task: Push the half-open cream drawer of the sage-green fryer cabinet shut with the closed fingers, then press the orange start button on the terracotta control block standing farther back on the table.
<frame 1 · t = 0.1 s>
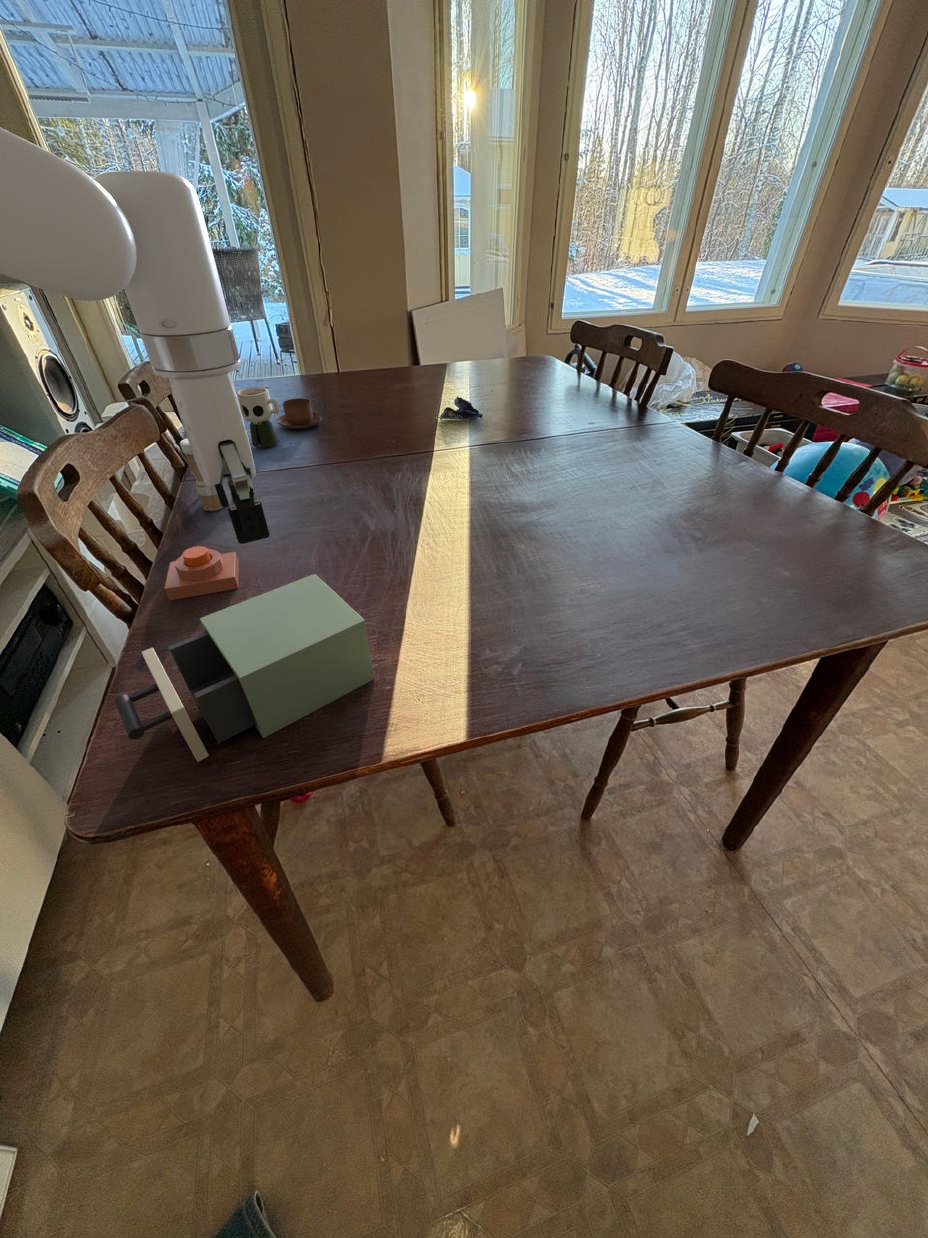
hand: (244, 520, 57), 19 cm above the table, tool pointing down, fingers open, 9 cm apart
cup and saucer: (301, 426, 141), on the table
character mug: (266, 446, 130), on the table
sprinkles bottle: (215, 507, 103), on the table
fryer: (299, 678, 65), on the table
fryer drawer: (212, 686, 57), point 5 cm above the table, slide at 5.5 cm
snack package: (462, 419, 146), on the table
start button: (196, 556, 79), point 4 cm above the table, slide at 0.1 cm
control block: (206, 580, 82), on the table
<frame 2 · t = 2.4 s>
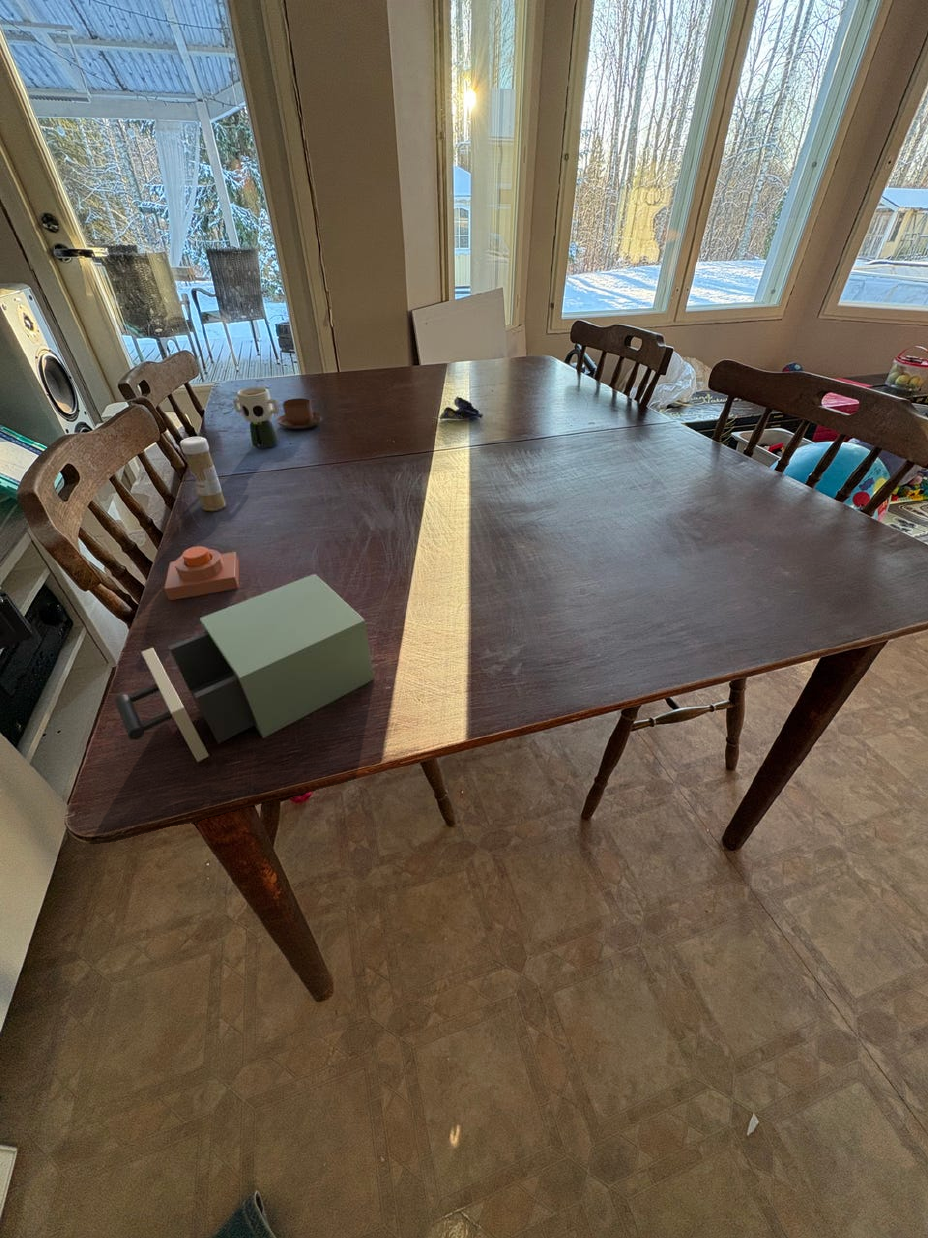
hand: (10, 640, 42), 19 cm above the table, tool pointing down, fingers closed
nothing on the table moved.
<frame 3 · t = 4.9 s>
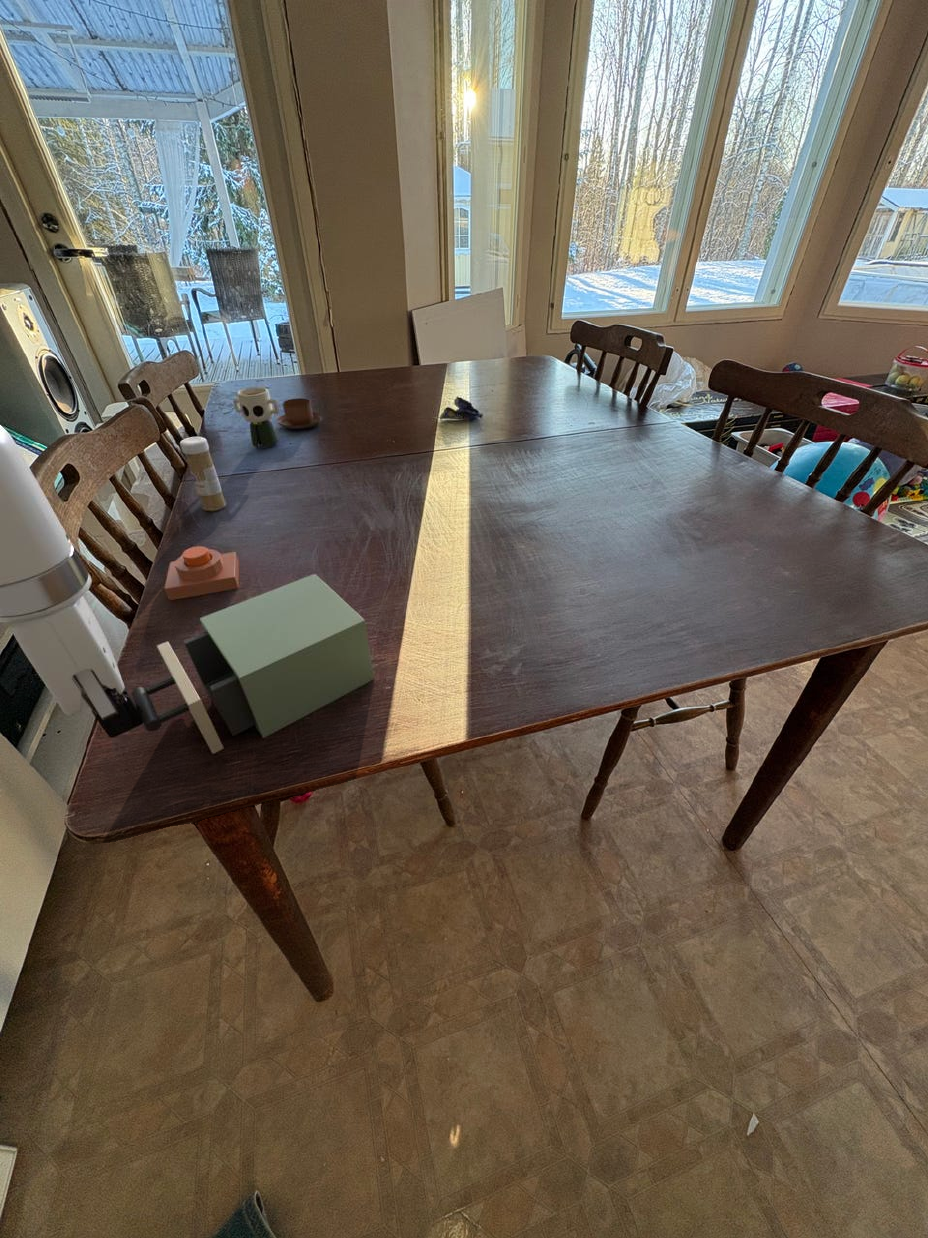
hand: (126, 726, 53), 5 cm above the table, tool pointing down, fingers closed
fryer drawer: (226, 679, 58), point 5 cm above the table, slide at 3.9 cm, touching gripper
everything else where it was.
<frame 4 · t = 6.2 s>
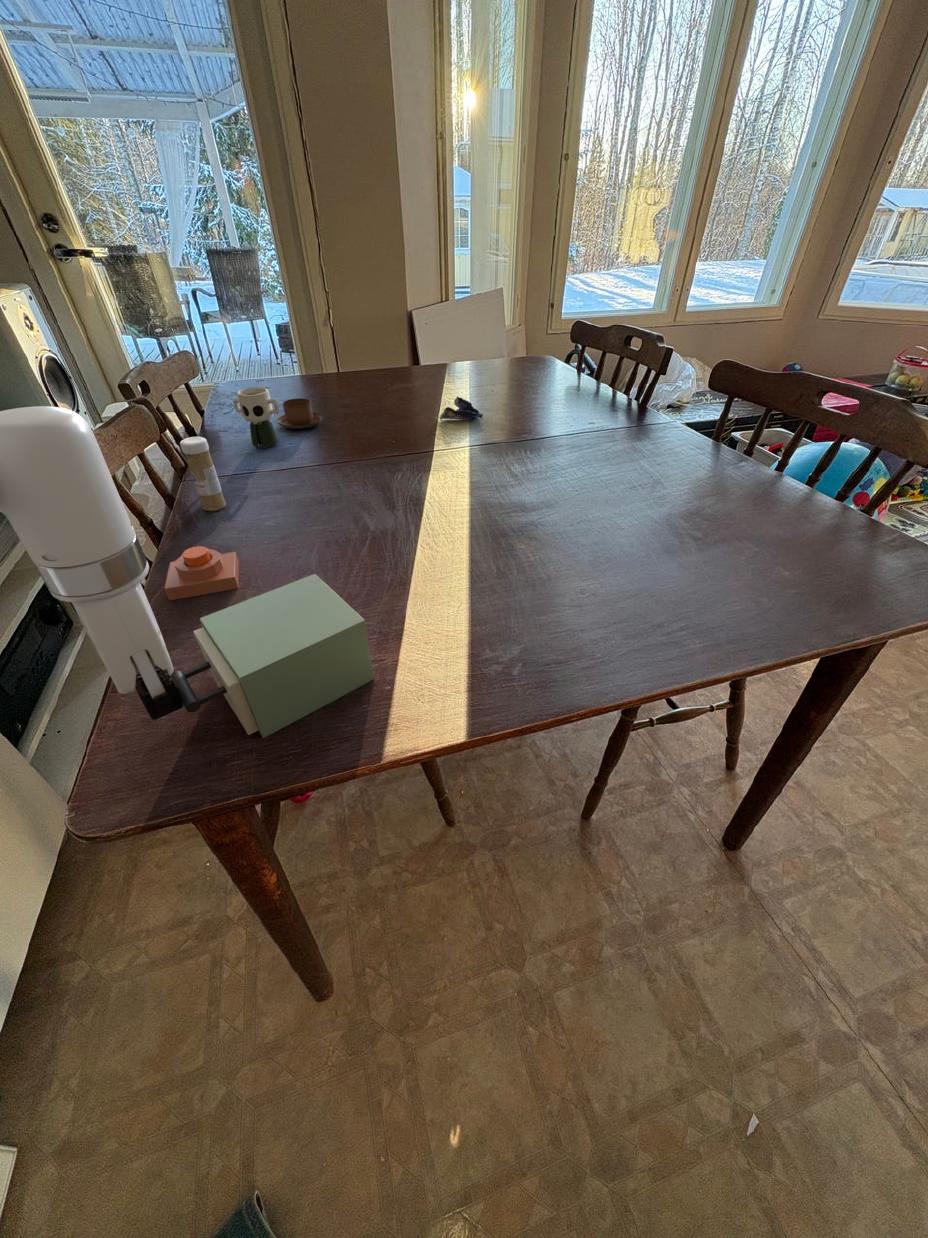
hand: (166, 709, 55), 5 cm above the table, tool pointing down, fingers closed
fryer drawer: (260, 664, 60), point 5 cm above the table, slide at 0.0 cm, touching fryer, gripper
everything else where it was.
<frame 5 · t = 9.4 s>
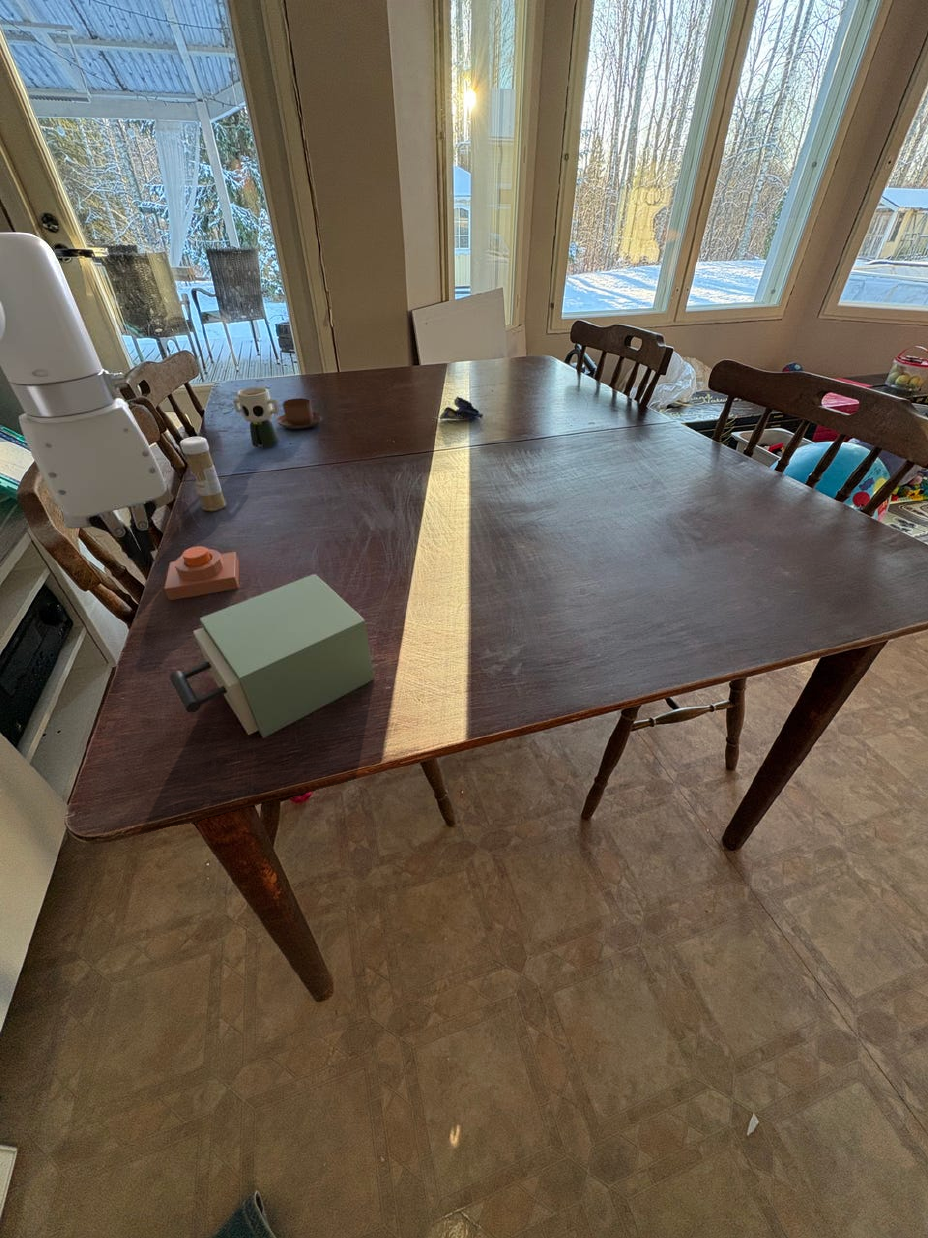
hand: (144, 558, 60), 14 cm above the table, tool pointing down, fingers closed
fryer drawer: (260, 664, 60), point 5 cm above the table, slide at 0.0 cm, touching fryer
everything else where it was.
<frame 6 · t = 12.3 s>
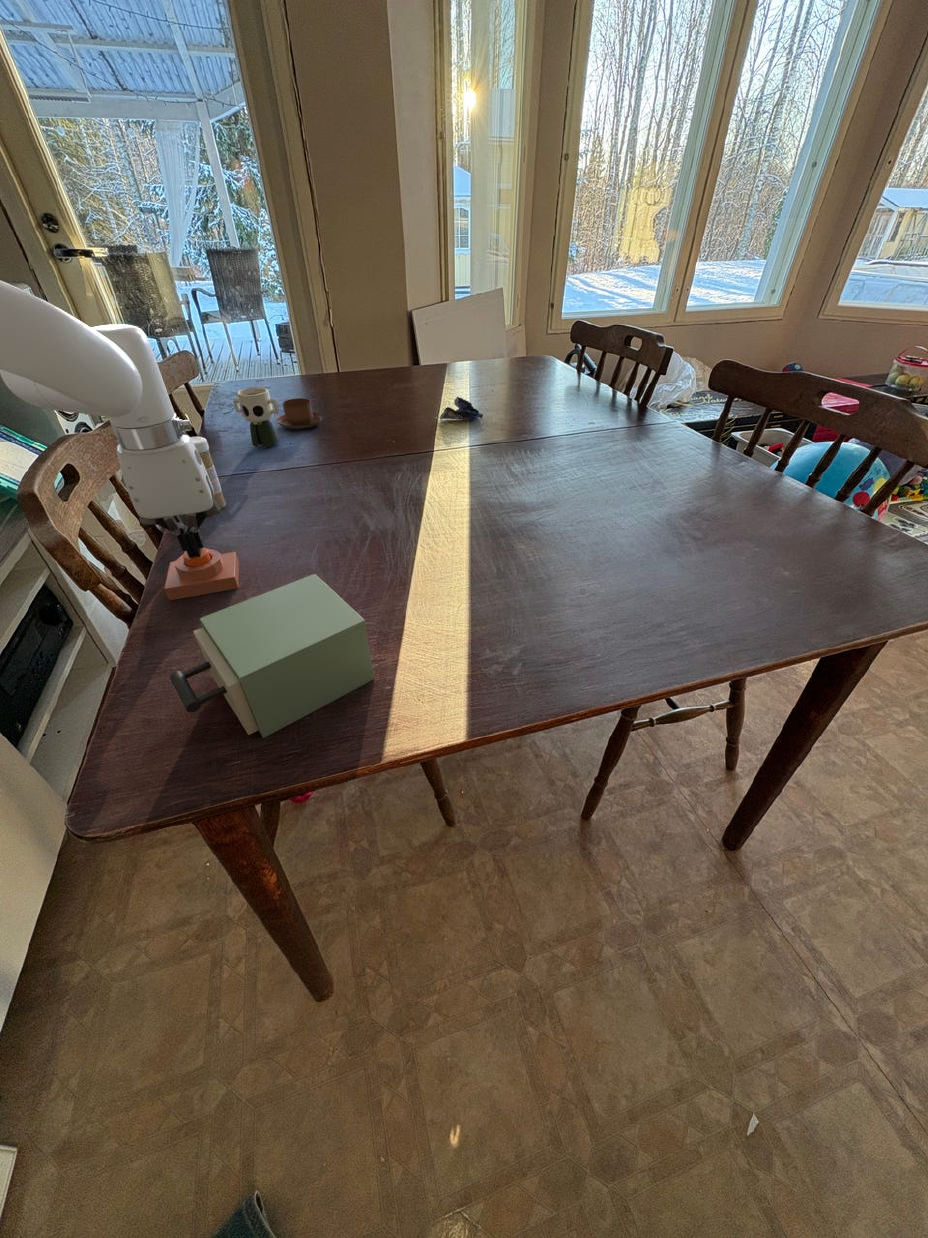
hand: (195, 552, 79), 5 cm above the table, tool pointing down, fingers closed
start button: (197, 557, 79), point 4 cm above the table, slide at -0.1 cm, touching gripper
everything else where it was.
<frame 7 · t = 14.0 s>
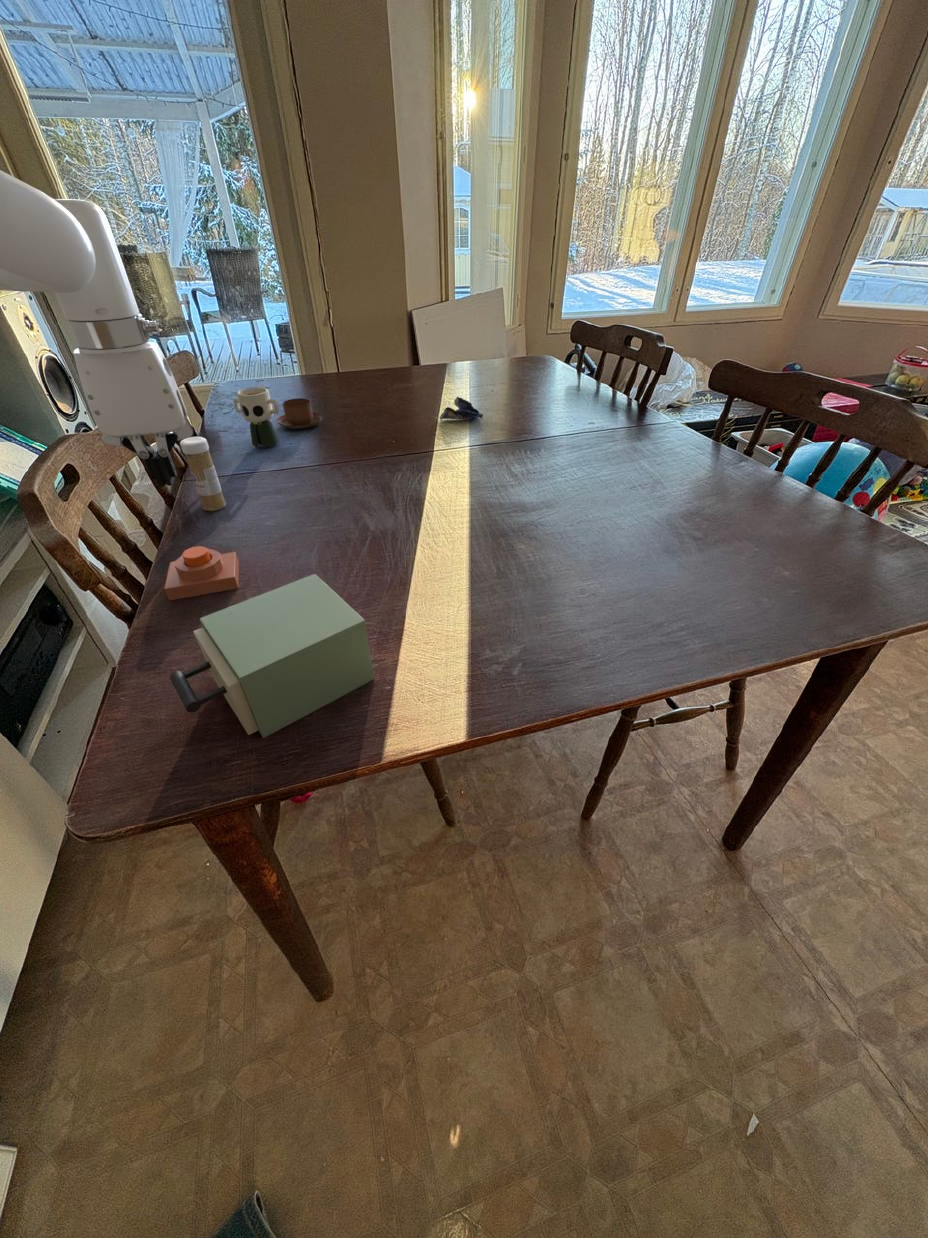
hand: (167, 482, 71), 17 cm above the table, tool pointing down, fingers closed
start button: (196, 556, 79), point 4 cm above the table, slide at 0.1 cm
everything else where it was.
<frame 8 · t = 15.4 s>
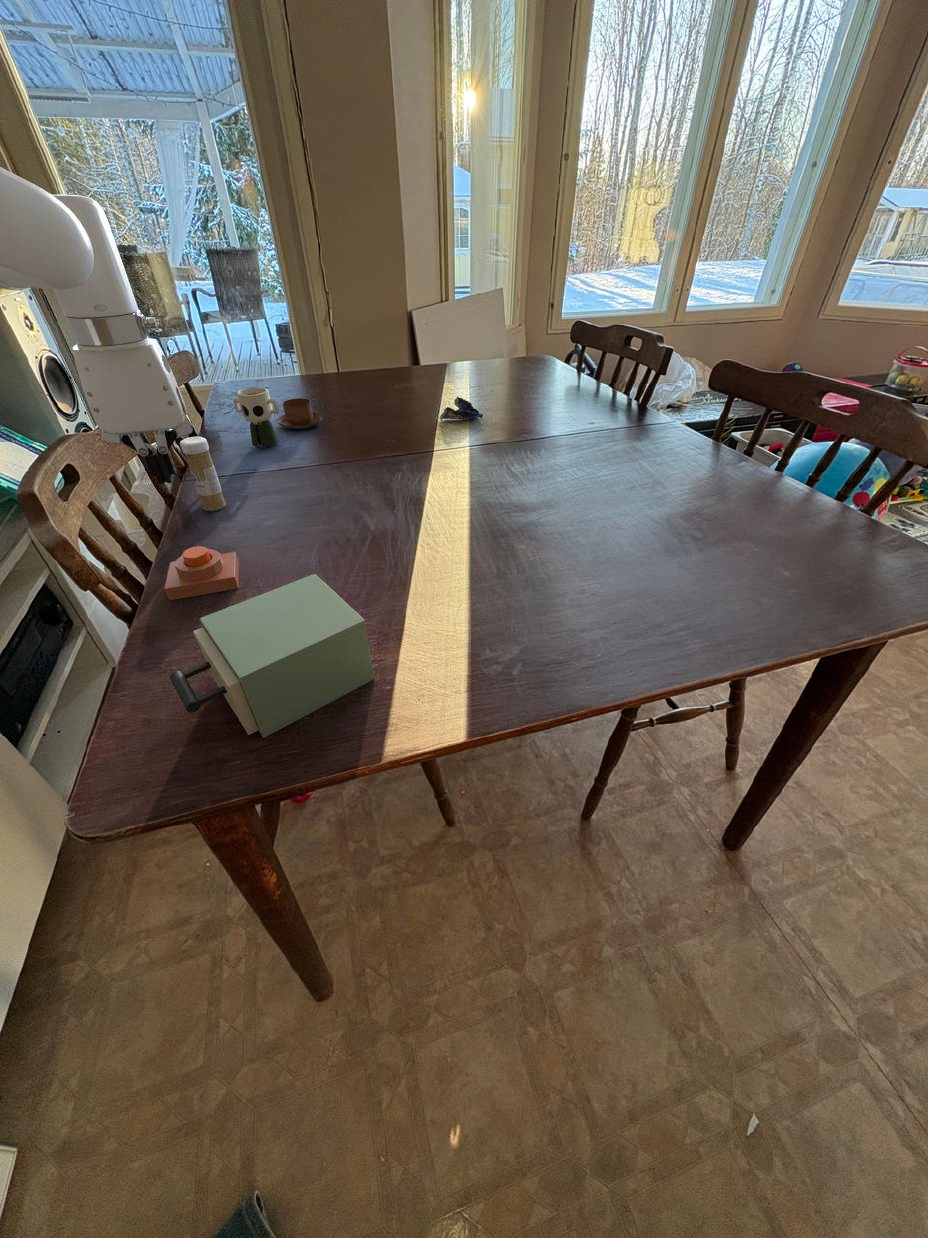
hand: (166, 479, 71), 17 cm above the table, tool pointing down, fingers closed
nothing on the table moved.
at the end: fryer drawer slide at 0.0 cm; start button pushed in 1.0 cm at the most during the clip, back to where it started at the end; start button slide at 0.1 cm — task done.
